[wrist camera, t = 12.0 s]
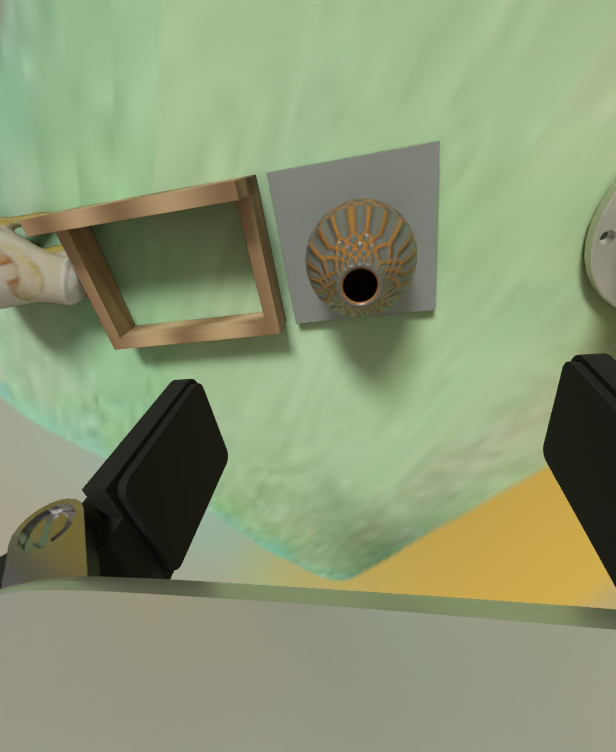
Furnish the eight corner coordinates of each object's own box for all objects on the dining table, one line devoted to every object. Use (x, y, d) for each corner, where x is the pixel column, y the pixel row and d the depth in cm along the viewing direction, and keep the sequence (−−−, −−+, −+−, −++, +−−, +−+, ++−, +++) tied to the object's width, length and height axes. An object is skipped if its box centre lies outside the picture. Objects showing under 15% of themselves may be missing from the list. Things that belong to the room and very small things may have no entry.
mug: (113, 314, 33) (-16, 365, 26) (51, 256, 35) (-81, 290, 29) (101, 241, 27) (-66, 283, 21) (28, 177, 29) (-142, 198, 23)
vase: (326, 301, 28) (314, 356, 21) (300, 209, 25) (275, 236, 18) (416, 280, 26) (437, 332, 19) (401, 178, 23) (420, 194, 16)
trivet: (437, 141, 22) (439, 141, 22) (433, 305, 28) (435, 309, 28) (269, 172, 25) (266, 172, 24) (297, 319, 30) (296, 323, 30)
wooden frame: (255, 174, 25) (234, 181, 21) (286, 320, 30) (274, 348, 26) (70, 208, 28) (18, 220, 23) (130, 336, 33) (97, 364, 29)
